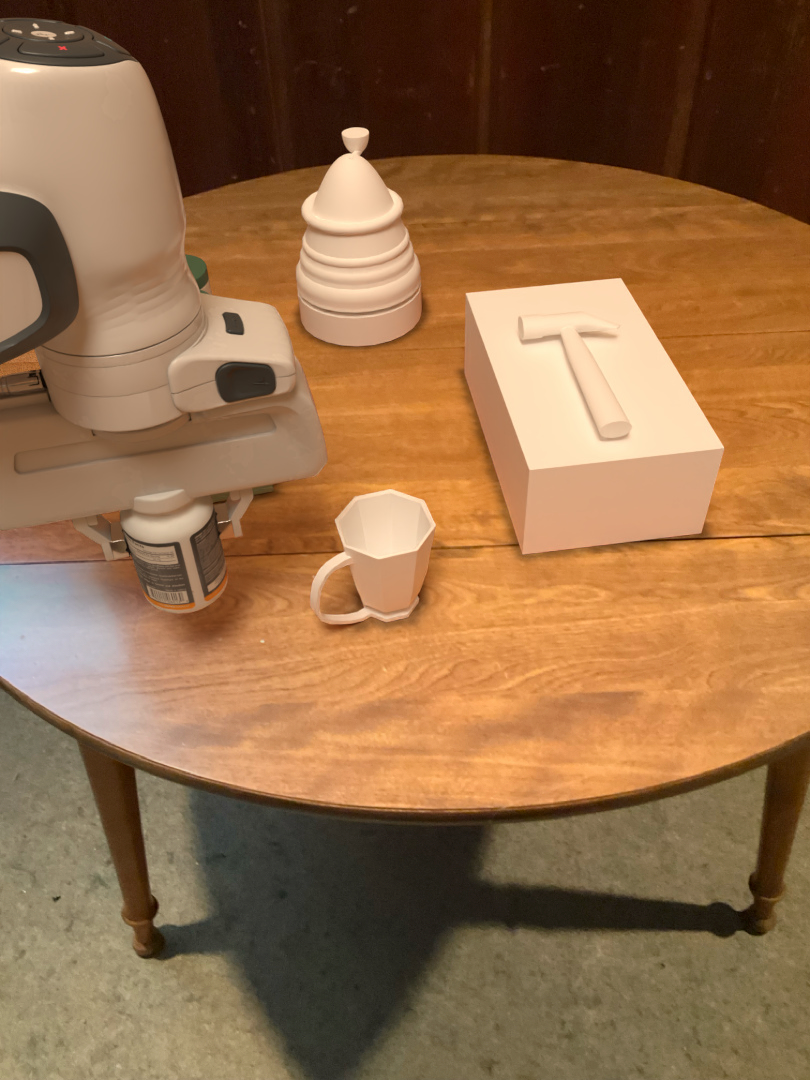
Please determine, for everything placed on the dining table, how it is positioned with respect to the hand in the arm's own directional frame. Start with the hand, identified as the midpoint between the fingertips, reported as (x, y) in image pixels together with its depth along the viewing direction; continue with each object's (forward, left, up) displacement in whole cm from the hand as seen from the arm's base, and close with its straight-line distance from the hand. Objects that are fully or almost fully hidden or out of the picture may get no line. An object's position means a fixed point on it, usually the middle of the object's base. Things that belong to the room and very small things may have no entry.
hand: (175, 542), depth 59 cm
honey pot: (+20, +41, -11) cm, 47 cm away
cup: (+12, 0, -11) cm, 16 cm away
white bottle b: (+2, +36, -10) cm, 37 cm away
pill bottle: (0, 0, -4) cm, 4 cm away
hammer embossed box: (+33, +14, -11) cm, 38 cm away
